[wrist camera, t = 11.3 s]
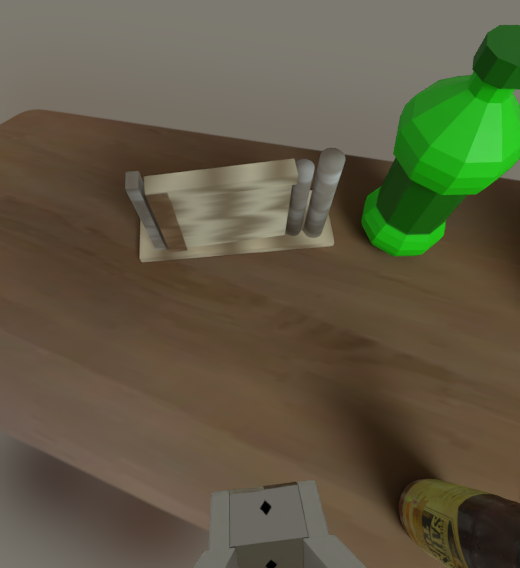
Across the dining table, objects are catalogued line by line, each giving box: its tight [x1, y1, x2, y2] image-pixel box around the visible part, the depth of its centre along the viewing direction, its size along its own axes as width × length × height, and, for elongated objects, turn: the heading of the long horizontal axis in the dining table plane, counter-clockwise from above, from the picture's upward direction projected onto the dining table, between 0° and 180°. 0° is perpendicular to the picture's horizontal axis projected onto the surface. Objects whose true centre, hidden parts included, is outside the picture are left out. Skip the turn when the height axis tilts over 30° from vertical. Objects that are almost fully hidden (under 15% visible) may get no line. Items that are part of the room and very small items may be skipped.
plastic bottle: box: [361, 25, 520, 256], centre depth 37 cm, size 10×10×25 cm
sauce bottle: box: [399, 478, 520, 568], centre depth 27 cm, size 6×6×20 cm
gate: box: [144, 159, 315, 253], centre depth 41 cm, size 16×2×12 cm, turn 99°
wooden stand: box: [125, 148, 345, 262], centre depth 42 cm, size 24×8×14 cm, turn 96°
